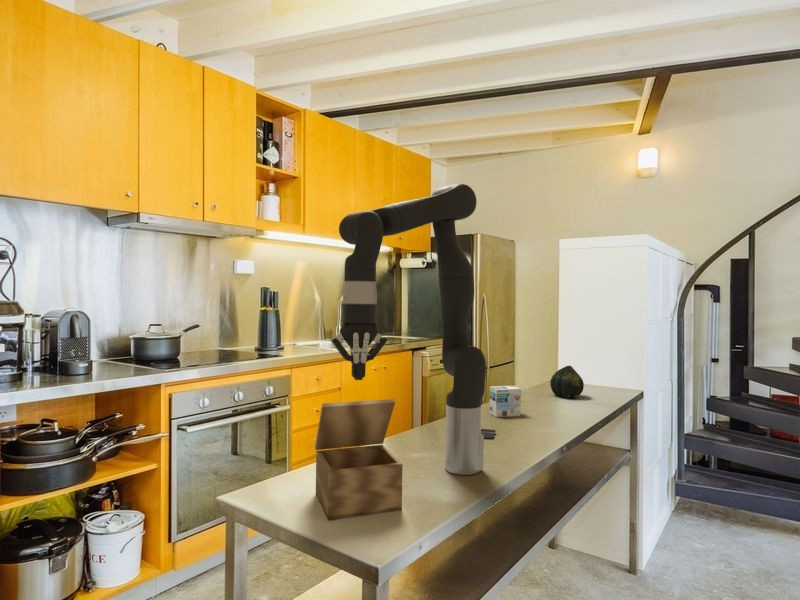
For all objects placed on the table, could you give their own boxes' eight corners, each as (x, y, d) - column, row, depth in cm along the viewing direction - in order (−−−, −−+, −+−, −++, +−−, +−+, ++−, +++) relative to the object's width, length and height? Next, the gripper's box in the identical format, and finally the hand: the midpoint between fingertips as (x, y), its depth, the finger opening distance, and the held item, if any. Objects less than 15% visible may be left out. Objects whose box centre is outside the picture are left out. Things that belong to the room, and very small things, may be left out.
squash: (552, 387, 221) (573, 362, 222) (539, 383, 236) (560, 359, 237) (574, 408, 222) (596, 383, 223) (561, 402, 237) (581, 379, 238)
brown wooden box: (381, 485, 119) (382, 444, 119) (401, 509, 106) (402, 463, 106) (315, 494, 114) (316, 450, 114) (328, 520, 101) (329, 471, 100)
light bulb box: (495, 417, 188) (496, 389, 188) (488, 413, 195) (489, 386, 194) (521, 416, 191) (521, 388, 190) (513, 412, 197) (513, 385, 197)
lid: (383, 443, 119) (381, 439, 120) (395, 402, 111) (393, 398, 112) (315, 450, 114) (314, 446, 114) (323, 407, 106) (322, 403, 107)
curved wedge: (456, 430, 170) (456, 426, 170) (495, 434, 167) (495, 429, 167) (451, 437, 162) (451, 432, 162) (493, 441, 159) (493, 436, 159)
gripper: (382, 302, 116) (381, 375, 116) (327, 301, 111) (325, 377, 111) (393, 302, 108) (391, 381, 109) (334, 301, 104) (332, 383, 104)
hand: (358, 379), depth 110 cm, fingers closed
